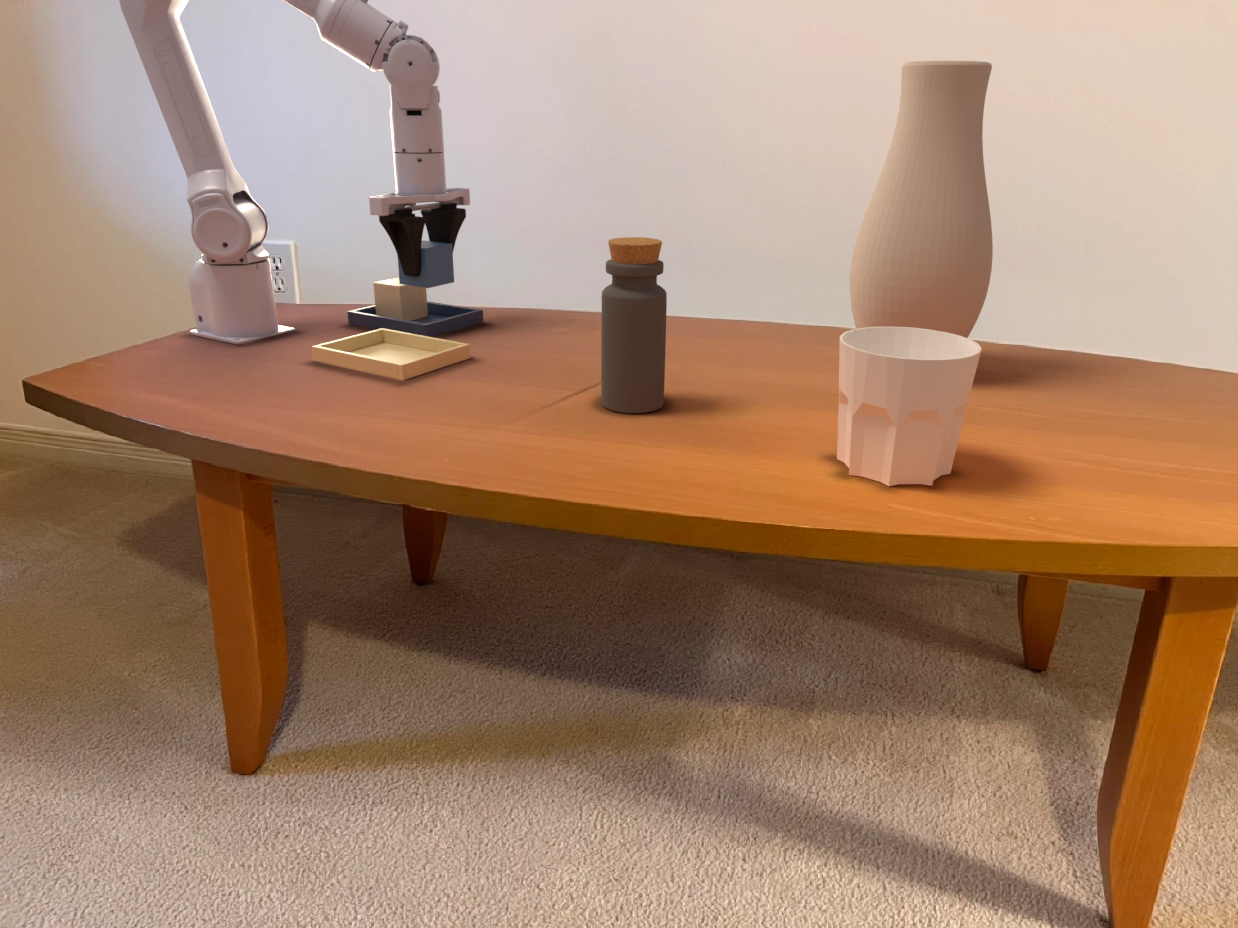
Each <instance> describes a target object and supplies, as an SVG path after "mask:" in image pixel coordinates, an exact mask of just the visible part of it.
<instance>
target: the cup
mask: <svg viewBox="0 0 1238 928" xmlns="http://www.w3.org/2000/svg"><path fill="white" fill-rule="evenodd" d="M982 349H983V348H982V347H981V345H980V344H979V343H978V342H976V341H975V340H973V339H971V338H969V337H968V338H965V337H962V336H959V335H955V334H951V333H947V332H942V331H936V330H930V329H921V328H911V327H867V328H859V329H856V328H855V329H850V330H846V331H844V332H843V333H841V334H840V335H839V355H838V356H839V358H838V359H839V361H838V363H839V364H838V408H837V409H838V410H837V411H838V412H837V415H838V416H837V445H836V460H838V461H840V462H842V463H844V464H845V465H846V467H847V468H848V476H855V477H862V478H866V479H869V480H872V481H876V482H879V483H881V484H883V485H885V486H887V487H893V486H897V485H923V486H930V487H932V486H933V484H934V481H935V480H936V479H938V478H939V477H941V476H946V475H950V474H951V473H952V469H953V466H954V465H953V464H954V462H955V461H954V460H955V456H956V452H957V447H958V444H959V440H960V435H961V432H962V427H963V425H964V424H963V423H964V419H965V414H966V411H967V407H968V404H969V399H970V395H971V393H972V392H971V391H972V387H973V384H974V380H975V376H976V372H977V368H978V364H979V361H980V356H981V353H982Z"/></svg>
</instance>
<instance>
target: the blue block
mask: <svg viewBox="0 0 1238 928" xmlns="http://www.w3.org/2000/svg"><path fill="white" fill-rule="evenodd" d="M396 255H397V254H396ZM396 257H397V267H398V268H397V269H398V277H399V281H400V284H404V285H410V286H417V287H423V288H426V289H431V288H435V287H440V286H444V285H449V284H453V283H455V270H454V269H455V268H454V250H452V244H450V243H441V242H433V241H429V240H422V243H421V273H420V276H418V277H413V276H406V275H404V272H403V269H402V266H401V263H400V260H399V258H398V255H397V256H396Z"/></svg>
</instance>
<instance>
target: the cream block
mask: <svg viewBox="0 0 1238 928" xmlns="http://www.w3.org/2000/svg"><path fill="white" fill-rule="evenodd" d="M372 284H373V285H372V286H373V296H374V297H373V298H374V305H375V308H376V315H378V316H384V317H390V318H396V319H401V320H407V321H412V320H416V319H420V318H424V317H428V308H427V301H428V294H427V288H423V287H417V286H410V285H404V284H400V281H399V276H397V277H392V278H388V279H383V280H378V281H374V282H373V283H372Z"/></svg>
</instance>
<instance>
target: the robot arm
mask: <svg viewBox="0 0 1238 928" xmlns="http://www.w3.org/2000/svg"><path fill="white" fill-rule="evenodd" d="M282 1H283V2H285V3H286V4H288V5H290V6H291V7H293V8H295V9H297V10H298V11H300V12H301V13H303V14H304V15H306V16H308V17H309V18H311V19H312V20H313V21H314V22H315V25H316V28H317V31H318V35H319V38H320V39H321V41H323V42H325V43H327V44H329V45H330V46H332V47H333V48H335V49H336V50H337V51H339V52H341V53H343V54H344V55H345V56H347V57H350V58H351V59H352V60H354V61H356V62H357V63H358V64H360V65H362V66H363V67H365V68H367V69H368V70H370V71H371V72H373V73H378V72H383V75H385V78H386V80H387V82H389V84H390V85H389V94H390V105H391V106H390V108H389V120H390V132H391V145H392V156H393V158H392V159H393V168H394V169H393V170H394V182H395V192H391V193H385V194H379V195H374V196H368V206H369V215H371V216H378V222H379V223H380V225H381V226H382V227H383V229H384V231H385V232H386V234H387V235H388V237H389V239H390V241H391V243H392V245H393V247H394V249H395V252H396V255H398V256H397V259H398V258H399V260H400V263H401V266H402V269H403V272H404V275H406V276H413V277H418V276H420V273H421V243H422V241H423V234H424V228H426V231H427V235H428V241H433V242H441V243H450V244H452V250H453V251H454V250H455V245H456V242H457V238H458V234H459V232H460V230H461V228H462V225H463V223H464V221H465V220H466V218H467V209H466V208H460V207H458V206H470V205H471V196H470V195H471V193H470V188H465V187H452V188H451V187H449V188H447V180H446V179H447V178H446V163H445V162H446V161H445V144H444V129H443V127H444V126H443V114H442V113H443V111H442V109H441V107H440V103H441V102H440V101H441V95H440V91H439V87H438V86H437V85H435V84H436V83H437V81H438V79H439V76H440V71H441V65H440V64H441V63H440V60H439V57H438V54H437V52H436V51H435V49H434V48H433V47H432V46H431V45H430V43H428V42H427V41H426V40H425V39H424V38H422V37H420V36H416V35H413V34H407V33H408V30H409V28H410V27H409V24H407V23H406V22H404V21H403V20H401V19H400V20H399V21H398V22H396V21H395V20H394V19H391V18H390V17H389V16H387V15H386V14H384V13H383V12H382V11H380V10H378V9H376V8H375V7H373V6H372V5H370V4H369V3H368V2H369V0H282ZM188 3H189V0H119V5H120V9H121V13H122V14H123V17H124V19H125V23H126V25H127V28H128V30H129V33H130V35H131V38H132V40H133V43H134V46H135V48H136V50H137V53H138V55H139V58H140V61H141V64H142V67H143V68H144V70H145V73H146V76H147V78H148V82H149V83H150V86H151V88H152V91H153V94H154V97H155V99H156V101H157V104H158V107H159V109H160V111H161V112H160V113H161V114H162V116H163V120H164V122H165V124H166V127H167V129H168V133H169V135H170V137H171V139H172V140H171V141H172V142H173V145H174V147H175V150H176V152H177V155H178V157H179V160H180V163H181V165H182V168H183V171H184V174H185V175H186V178H187V179H186V180H187V184H186V185H187V186H186V187H187V188H186V201H187V204H188V205H189V209H190V212H191V224H190V233H191V237H192V238H191V239H192V240H193V242H194V244H195V246H196V247H197V248H198V250H199V251H200V252H201V253H202V254H201V258H200V259H198V260H197V261H195V263H194V264H193V265H192V267H191V269H190V271H189V274H188V288H189V295H190V300H191V306H192V311H193V318H194V323H195V329H191V330H189V334H190V335H191V336H196V337H201V338H205V339H210V340H215V341H220V342H224V343H228V344H232V345H237V346H241V345H242V344H245V343H250V342H254V341H258V340H262V339H267V338H271V337H275V336H278V335H284V334H288V333H292V332H295V331H296V328H294V327H292V326H286V325H281V324H279V321H278V314H277V313H278V312H277V305H276V298H275V291H274V283H273V275H272V268H271V260H270V254H269V252H268V251H267V250H266V249H265V248H264V246H263V243H264V242H265V240H266V238H267V237H268V234H269V228H270V223H269V219H268V215H267V213H266V211H265V210H264V209H263V207H262V206H261V205H260V204H259V203H258V202H257V201H256V200H255V199H254V198H253V196H252V194H251V193H250V190H249V188H248V184H247V182H246V181H245V180H244V179H243V177H242V176H241V175H240V173H239V171H237V169H236V168H235V165H234V163H233V159H232V157H231V154H230V152H229V149H228V147H227V146H228V145H227V144H226V140H225V139H224V136H223V132H222V130H221V127H220V124H219V122H218V119H217V116H216V113H215V111H214V108H213V106H212V103H211V100H210V97H209V95H208V91H207V89H206V87H205V84H204V81H203V79H202V76H201V73H200V70H199V67H198V65H197V63H196V60H195V57H194V54H193V51H192V49H191V46H190V44H189V41H188V39H187V35H186V33H185V30H184V28H183V24H182V22H181V18H180V17H181V14H182V13H183V11H184V9H185V7H186V6H187V4H188ZM421 203H425V204H421ZM416 211H420V214H421V216H416V213H413V212H416Z"/></svg>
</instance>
